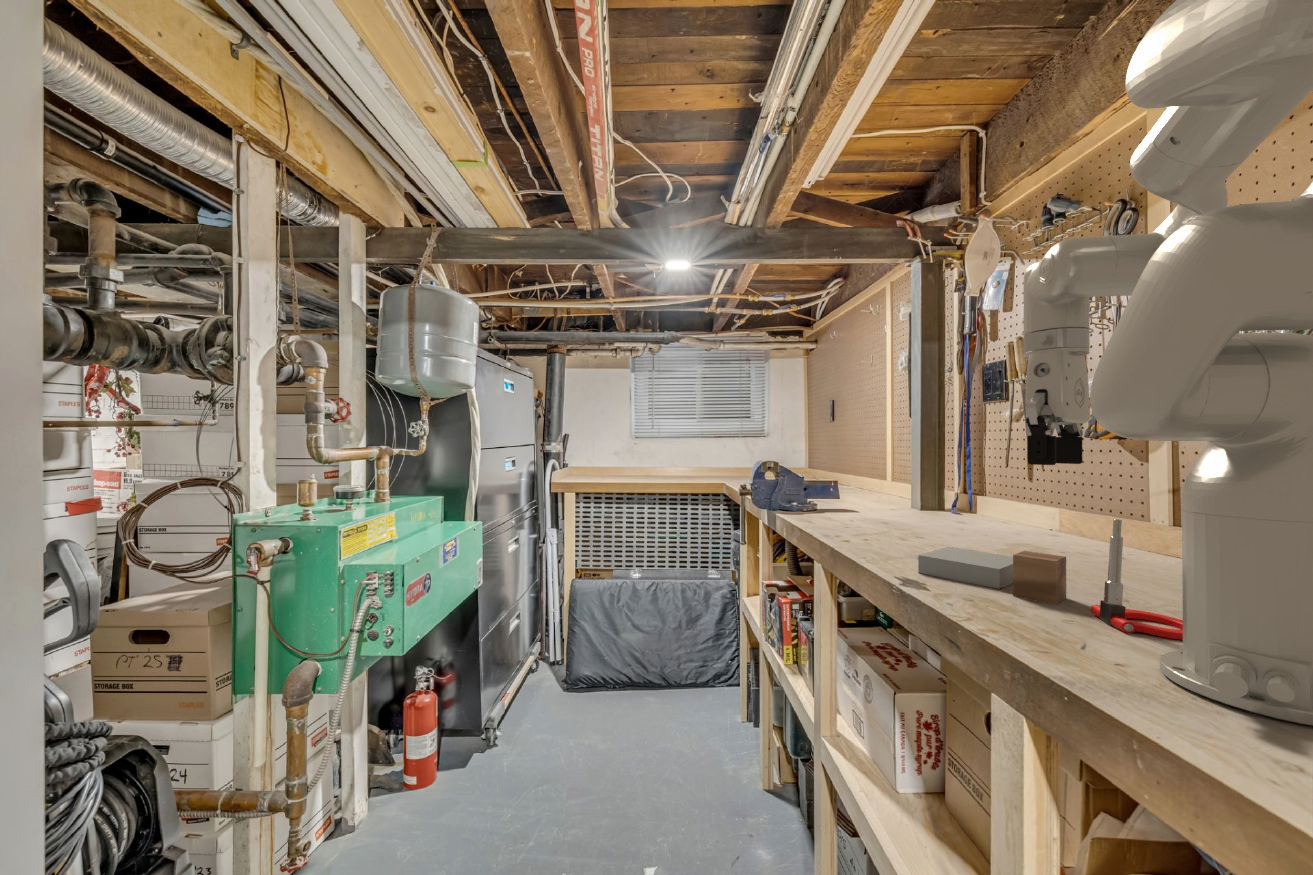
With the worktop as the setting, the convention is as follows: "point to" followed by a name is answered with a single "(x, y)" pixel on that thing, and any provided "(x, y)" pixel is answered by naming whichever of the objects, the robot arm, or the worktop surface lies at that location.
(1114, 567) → the red and grey piece
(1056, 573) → the walnut block
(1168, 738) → the worktop surface
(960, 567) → the base slab
